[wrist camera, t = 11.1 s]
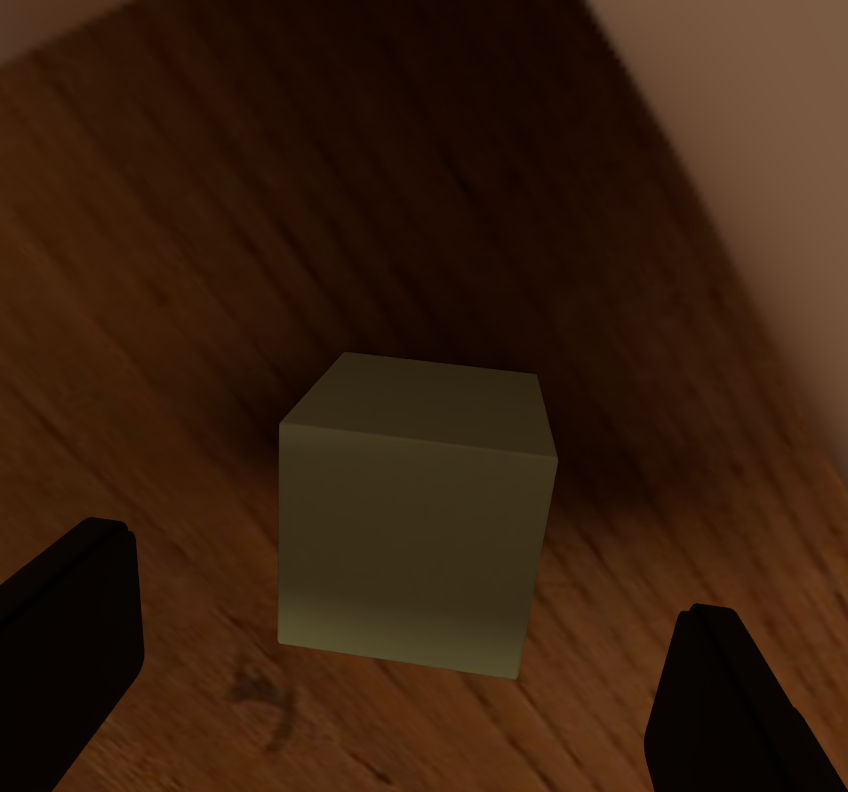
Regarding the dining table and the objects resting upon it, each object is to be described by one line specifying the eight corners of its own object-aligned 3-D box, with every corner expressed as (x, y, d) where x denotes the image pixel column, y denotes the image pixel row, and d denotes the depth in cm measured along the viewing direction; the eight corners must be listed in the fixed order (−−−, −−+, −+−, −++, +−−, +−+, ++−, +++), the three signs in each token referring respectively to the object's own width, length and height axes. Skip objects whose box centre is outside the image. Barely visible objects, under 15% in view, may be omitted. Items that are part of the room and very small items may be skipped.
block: (343, 350, 15) (277, 422, 10) (537, 373, 15) (559, 458, 10) (336, 517, 17) (277, 644, 12) (509, 541, 17) (517, 681, 12)
